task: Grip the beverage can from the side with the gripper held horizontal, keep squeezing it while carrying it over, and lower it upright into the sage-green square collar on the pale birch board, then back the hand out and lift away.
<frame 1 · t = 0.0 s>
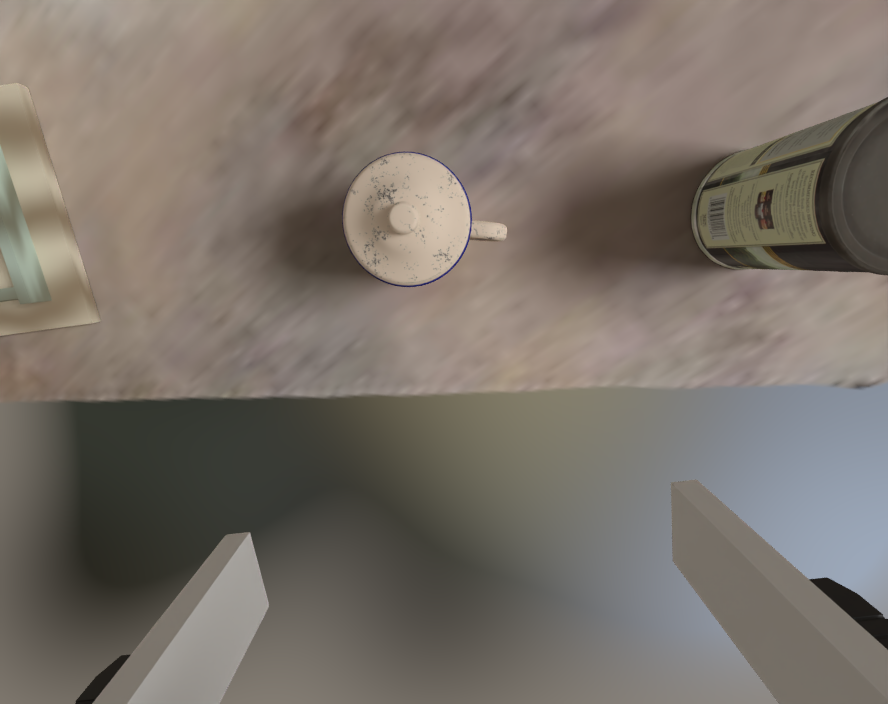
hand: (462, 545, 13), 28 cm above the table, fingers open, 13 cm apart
teacup with lid: (431, 230, 38), on the table
coffee can: (747, 210, 38), on the table
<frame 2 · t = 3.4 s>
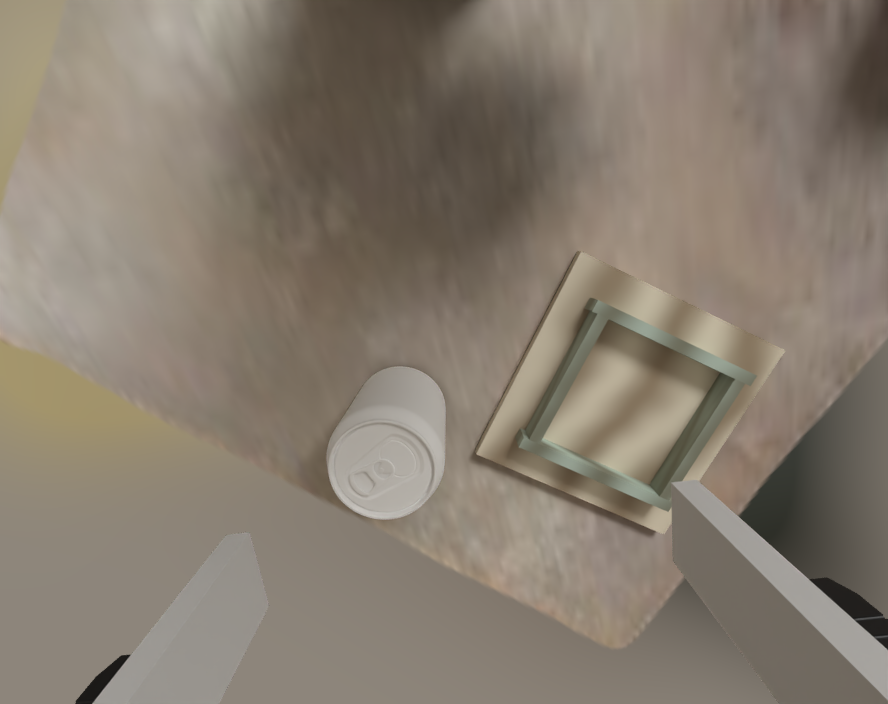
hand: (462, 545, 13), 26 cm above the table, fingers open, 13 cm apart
beverage can: (402, 405, 40), on the table
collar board: (621, 400, 39), on the table
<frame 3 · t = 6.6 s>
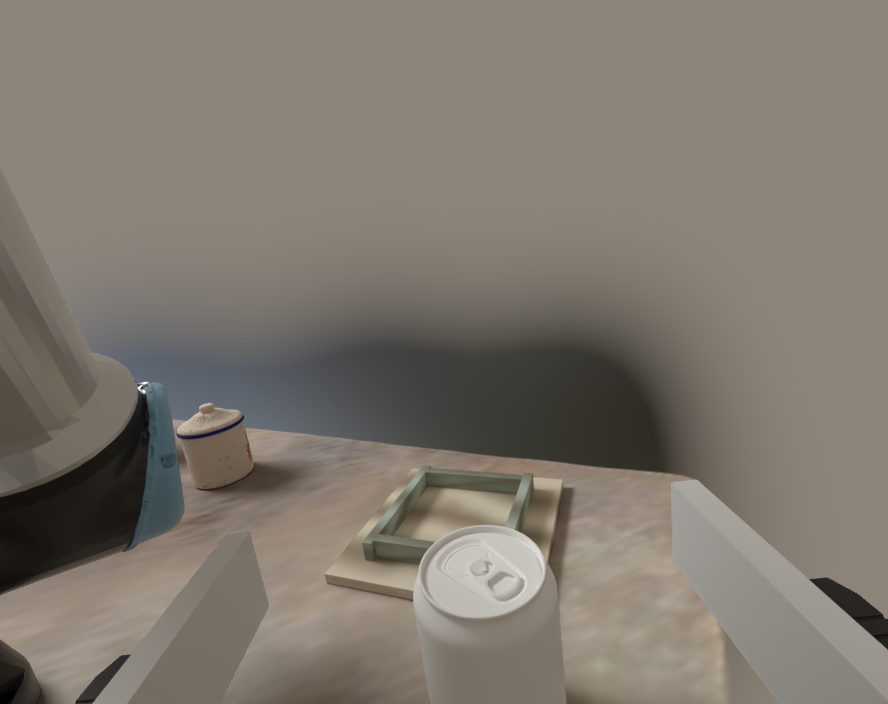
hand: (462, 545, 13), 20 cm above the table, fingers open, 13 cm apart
teacup with lid: (220, 474, 67), on the table
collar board: (458, 529, 46), on the table
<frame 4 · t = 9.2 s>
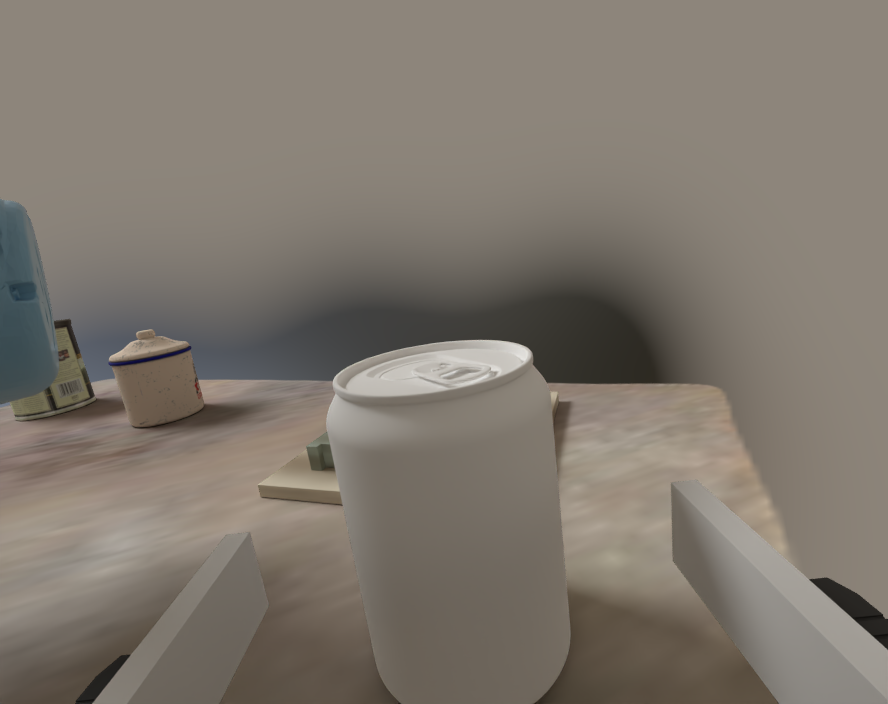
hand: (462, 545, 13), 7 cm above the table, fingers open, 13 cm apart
beverage can: (472, 639, 18), on the table
teacup with lid: (164, 415, 58), on the table
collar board: (431, 442, 38), on the table
coffee can: (57, 410, 70), on the table
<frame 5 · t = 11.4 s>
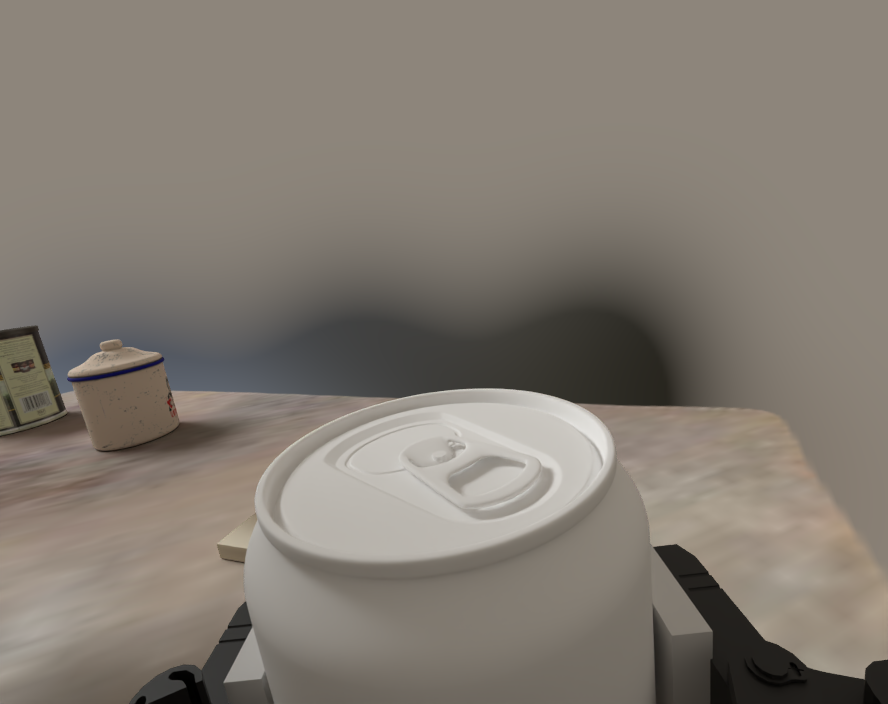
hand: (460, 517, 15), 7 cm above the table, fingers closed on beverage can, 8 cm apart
teacup with lid: (134, 435, 52), on the table
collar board: (433, 481, 31), on the table
coffee can: (23, 425, 64), on the table
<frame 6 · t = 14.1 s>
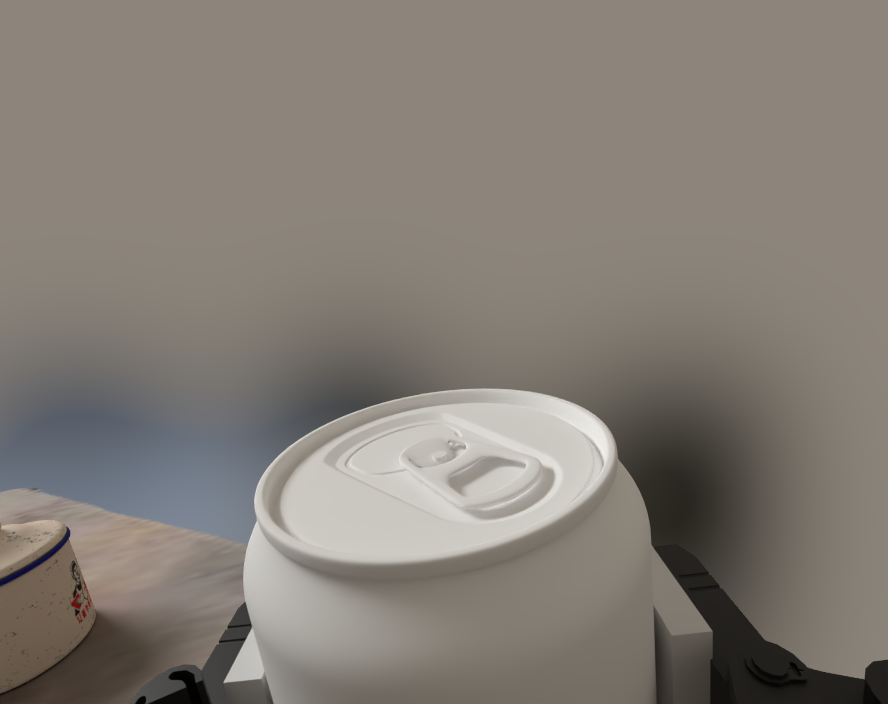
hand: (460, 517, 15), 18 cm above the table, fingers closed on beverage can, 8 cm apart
teacup with lid: (27, 645, 36), on the table
when the fingers open (9 cm above the table, at t = 16.8 s): beverage can moves 3 cm, resting on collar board.
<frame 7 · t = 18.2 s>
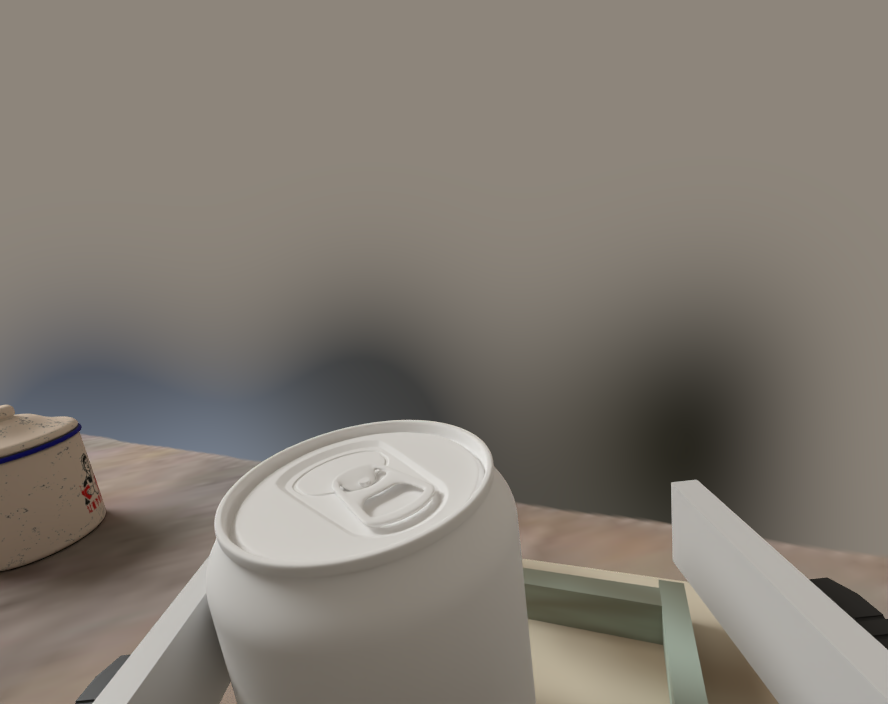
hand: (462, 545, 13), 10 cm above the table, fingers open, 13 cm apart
teacup with lid: (40, 535, 37), on the table
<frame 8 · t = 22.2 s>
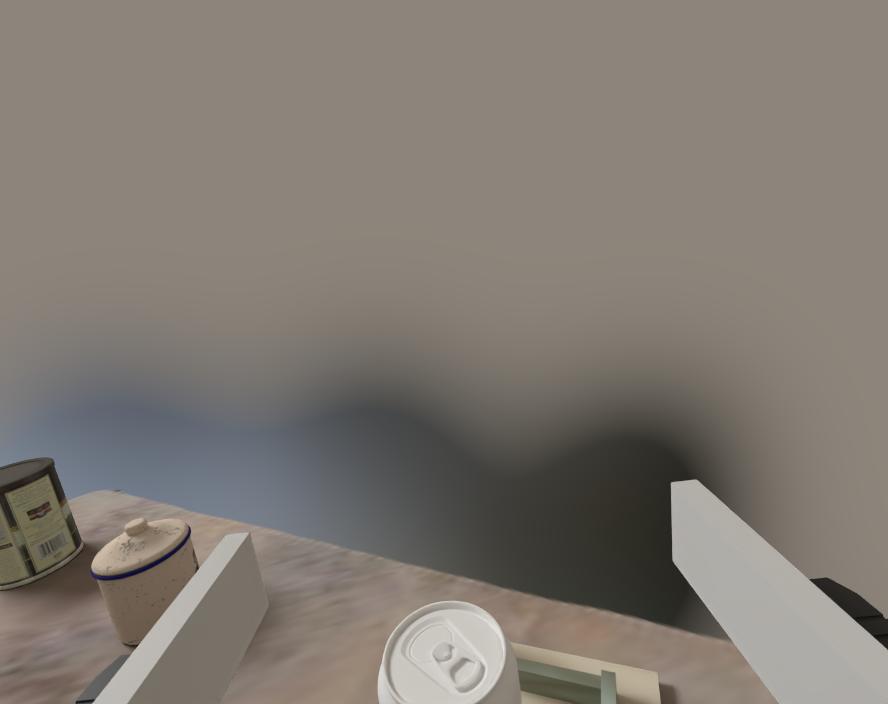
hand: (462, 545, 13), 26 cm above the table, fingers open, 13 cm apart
teacup with lid: (159, 610, 49), on the table
coffee can: (38, 565, 61), on the table
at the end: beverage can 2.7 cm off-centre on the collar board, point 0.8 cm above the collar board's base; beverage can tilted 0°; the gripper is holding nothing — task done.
